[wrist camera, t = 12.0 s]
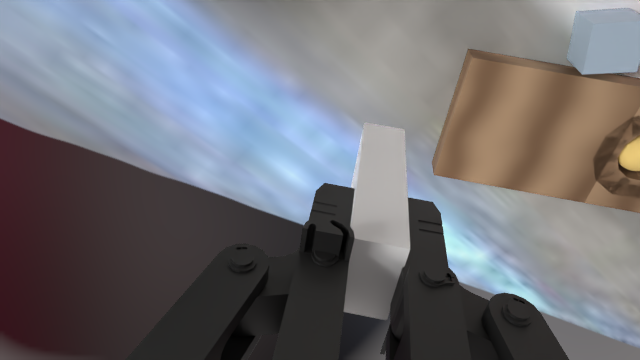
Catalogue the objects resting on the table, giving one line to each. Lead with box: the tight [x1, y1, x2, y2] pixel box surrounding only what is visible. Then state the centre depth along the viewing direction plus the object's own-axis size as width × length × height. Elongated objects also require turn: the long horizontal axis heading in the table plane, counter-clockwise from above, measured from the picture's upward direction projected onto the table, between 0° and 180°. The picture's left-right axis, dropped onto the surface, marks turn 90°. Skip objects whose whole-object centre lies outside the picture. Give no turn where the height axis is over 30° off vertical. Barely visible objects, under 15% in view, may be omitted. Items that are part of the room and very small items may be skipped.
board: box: [432, 49, 640, 213], centre depth 42 cm, size 26×12×2 cm, turn 82°
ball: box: [618, 135, 640, 171], centre depth 41 cm, size 4×4×4 cm
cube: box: [567, 8, 640, 75], centre depth 37 cm, size 4×4×4 cm
